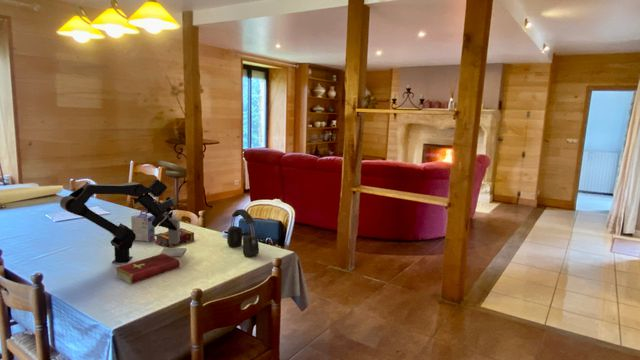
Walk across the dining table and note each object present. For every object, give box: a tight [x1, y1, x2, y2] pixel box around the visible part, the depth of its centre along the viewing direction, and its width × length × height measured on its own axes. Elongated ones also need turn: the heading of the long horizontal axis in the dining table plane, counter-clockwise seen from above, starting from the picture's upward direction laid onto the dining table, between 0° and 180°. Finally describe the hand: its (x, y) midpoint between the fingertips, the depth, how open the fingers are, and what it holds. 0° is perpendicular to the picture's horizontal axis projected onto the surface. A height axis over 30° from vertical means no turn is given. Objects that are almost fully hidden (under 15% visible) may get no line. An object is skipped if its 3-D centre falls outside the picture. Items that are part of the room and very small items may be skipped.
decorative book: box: [154, 227, 195, 248], centre depth 194 cm, size 11×16×5 cm
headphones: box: [226, 208, 260, 258], centre depth 184 cm, size 22×6×20 cm, turn 40°
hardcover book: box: [114, 253, 181, 285], centre depth 158 cm, size 12×21×4 cm, turn 144°
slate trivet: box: [159, 247, 187, 258], centre depth 179 cm, size 10×10×1 cm
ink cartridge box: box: [130, 210, 156, 242], centre depth 196 cm, size 10×6×14 cm, turn 78°
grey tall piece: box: [167, 213, 181, 245], centre depth 177 cm, size 4×4×13 cm
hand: (177, 228), depth 177 cm, fingers closed on grey tall piece, 4 cm apart
